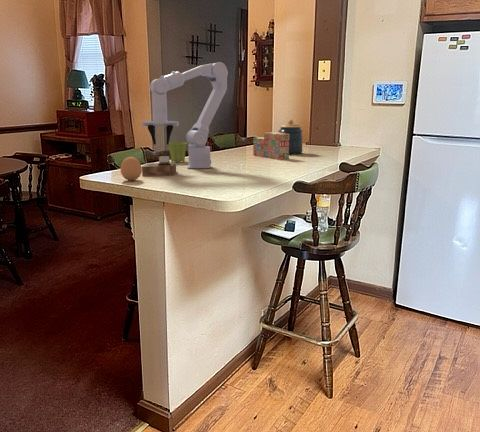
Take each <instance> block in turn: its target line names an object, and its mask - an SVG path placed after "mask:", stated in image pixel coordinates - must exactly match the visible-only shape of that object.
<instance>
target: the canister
mask: <svg viewBox="0 0 480 432" xmlns="http://www.w3.org/2000/svg"><path fill="white" fill-rule="evenodd" d="M279 127H280V129H279V130H278V132H277V133H285V134H290V135H289V155H292V156H293V155H302V154H303V138H304V137H303V132H304V130H303V129H302V125H300V124H299V123H294V120H293V119H289V120H288V121H287V123H282V125H280V126H279Z"/></svg>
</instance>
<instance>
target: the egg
mask: <svg viewBox="0 0 480 432" xmlns="http://www.w3.org/2000/svg"><path fill="white" fill-rule="evenodd" d="M120 175H121V176H122V177H123V178H124V179H125V180H127V181H129V182H130V181H131V182H134V181H136V180H138V179H139V178H140V177H141V176H142V165H141V163H140V161H139V160H138V158H136V157H134V156H128V157H125V159H123V161H122V163H121V165H120Z"/></svg>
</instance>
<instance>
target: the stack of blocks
mask: <svg viewBox="0 0 480 432" xmlns="http://www.w3.org/2000/svg"><path fill="white" fill-rule="evenodd" d="M289 135H290V134H285V133H279V132H275V131H274V132H271V131H270V132H269V131H268V132H264V133H263V136H261V137H259V136H258V137H253V138H252V144H253V149H252V150H253V152H252V153H253V154H252V156H253V155H255V157H260V158H266V159H272V160H280V161H281V160H288V159H290V156H289V155H290V154H289Z"/></svg>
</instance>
